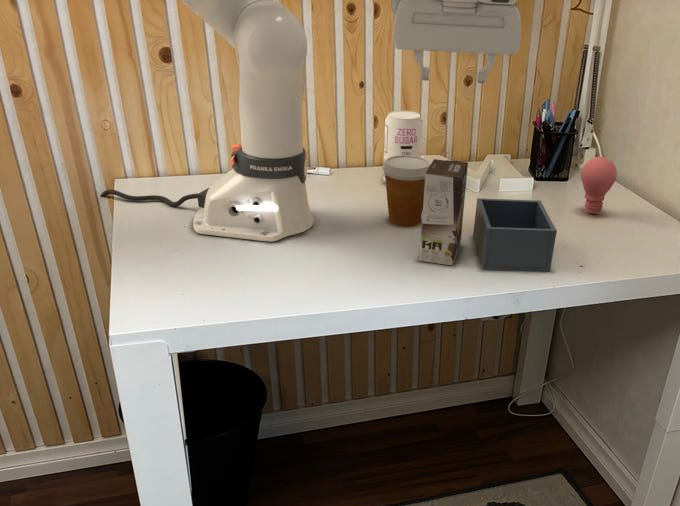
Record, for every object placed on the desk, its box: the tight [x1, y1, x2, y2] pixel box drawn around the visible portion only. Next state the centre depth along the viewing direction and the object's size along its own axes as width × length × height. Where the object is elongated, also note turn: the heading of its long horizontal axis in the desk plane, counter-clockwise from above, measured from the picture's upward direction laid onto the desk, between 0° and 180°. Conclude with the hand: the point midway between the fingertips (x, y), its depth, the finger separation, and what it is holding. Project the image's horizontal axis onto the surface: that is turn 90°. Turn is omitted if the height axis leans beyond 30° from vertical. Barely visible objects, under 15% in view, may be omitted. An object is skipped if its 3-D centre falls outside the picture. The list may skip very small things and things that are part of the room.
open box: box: [472, 197, 558, 273], centre depth 134 cm, size 12×15×8 cm
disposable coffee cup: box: [382, 155, 431, 228], centre depth 143 cm, size 10×10×12 cm
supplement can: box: [382, 110, 424, 183], centre depth 161 cm, size 8×8×15 cm
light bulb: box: [580, 156, 618, 215], centre depth 152 cm, size 7×7×12 cm
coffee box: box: [418, 158, 469, 266], centre depth 130 cm, size 9×6×16 cm
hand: (452, 81), depth 119 cm, fingers open, 8 cm apart
